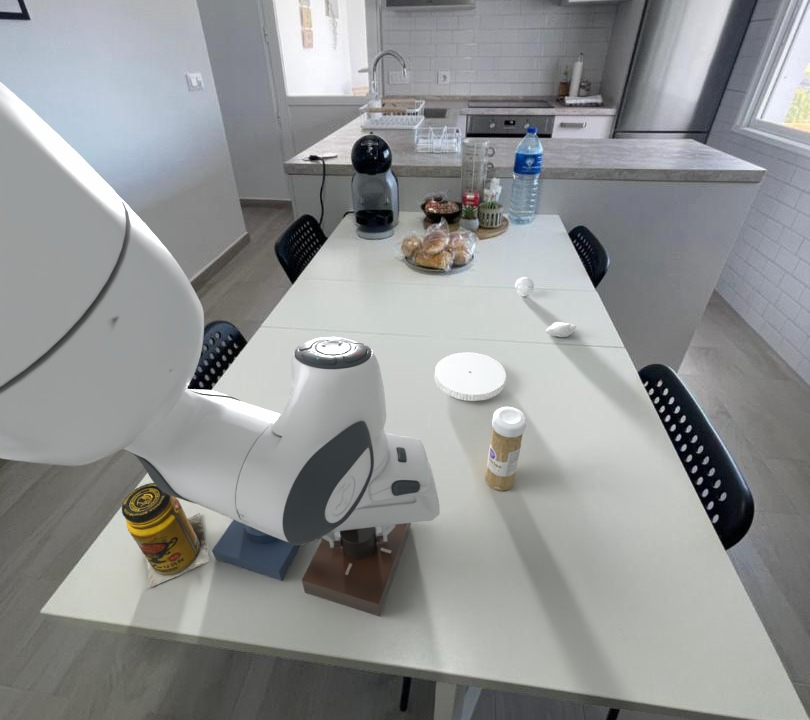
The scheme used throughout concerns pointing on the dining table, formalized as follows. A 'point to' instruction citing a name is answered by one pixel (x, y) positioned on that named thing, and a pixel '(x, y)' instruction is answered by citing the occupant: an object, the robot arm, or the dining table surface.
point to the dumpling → (561, 329)
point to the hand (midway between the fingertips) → (359, 539)
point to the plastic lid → (470, 376)
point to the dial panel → (356, 573)
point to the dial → (359, 542)
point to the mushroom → (524, 286)
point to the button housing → (255, 551)
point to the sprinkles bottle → (504, 447)
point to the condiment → (164, 533)
